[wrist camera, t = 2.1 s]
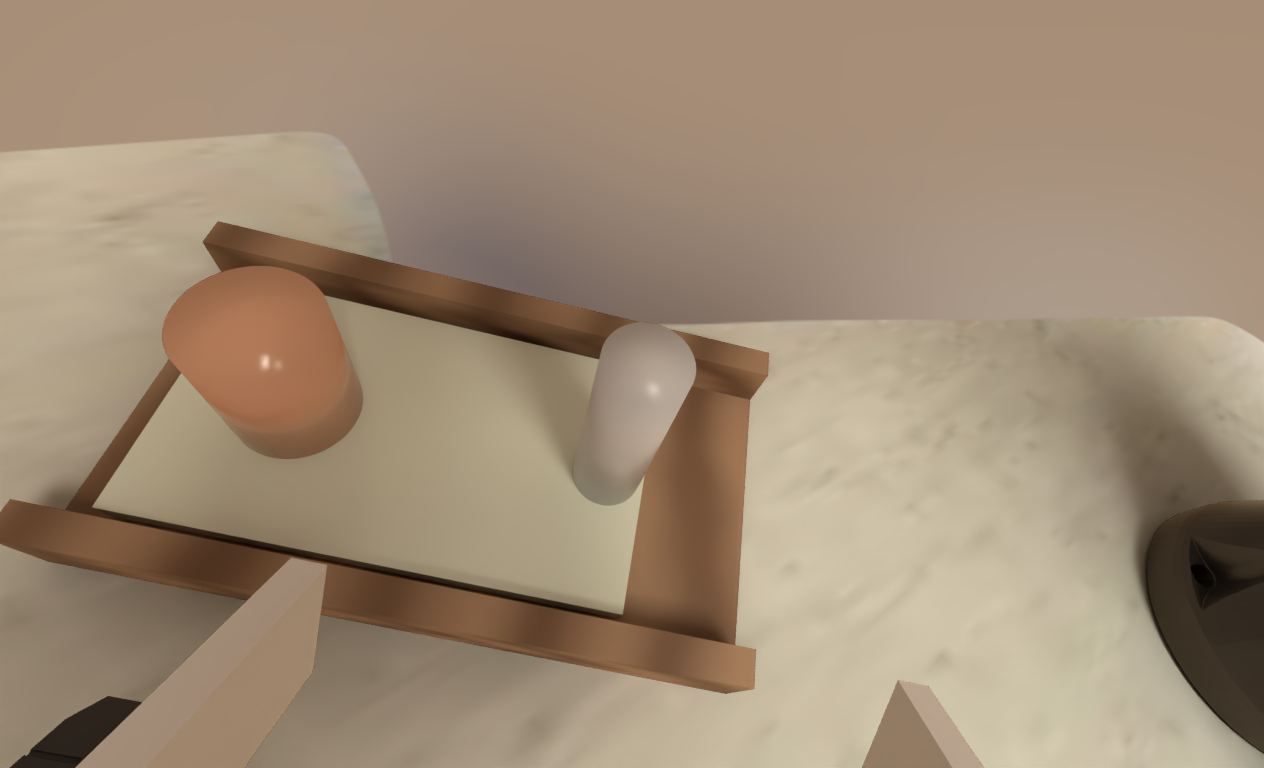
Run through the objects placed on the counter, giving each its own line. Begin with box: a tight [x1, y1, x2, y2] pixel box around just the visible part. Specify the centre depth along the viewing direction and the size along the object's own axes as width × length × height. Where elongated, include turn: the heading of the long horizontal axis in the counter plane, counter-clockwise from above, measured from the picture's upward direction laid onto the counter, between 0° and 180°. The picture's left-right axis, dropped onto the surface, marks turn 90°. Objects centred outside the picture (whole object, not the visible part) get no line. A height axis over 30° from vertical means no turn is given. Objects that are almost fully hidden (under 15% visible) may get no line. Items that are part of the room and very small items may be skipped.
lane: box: [0, 221, 769, 694], centre depth 31 cm, size 32×18×4 cm, turn 81°
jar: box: [162, 266, 363, 459], centre depth 27 cm, size 6×6×7 cm
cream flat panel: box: [92, 295, 696, 619], centre depth 26 cm, size 24×14×12 cm, turn 81°
